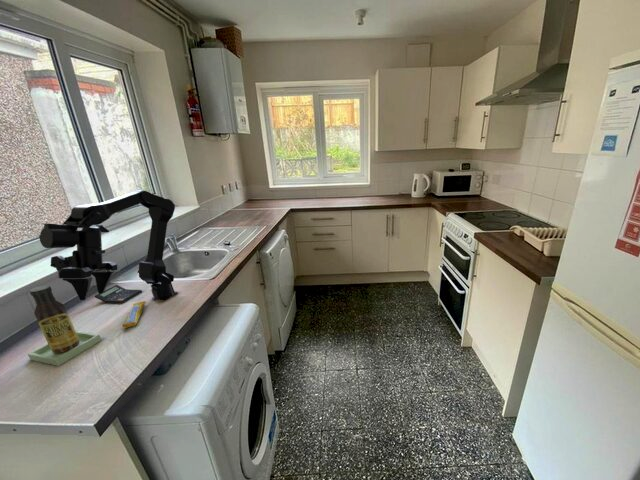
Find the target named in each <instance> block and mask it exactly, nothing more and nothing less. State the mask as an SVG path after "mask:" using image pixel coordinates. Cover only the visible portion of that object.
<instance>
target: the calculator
mask: <svg viewBox="0 0 640 480" xmlns="http://www.w3.org/2000/svg"><path fill="white" fill-rule="evenodd" d="M141 293H143V291H142V289H127V288H124V287H122V286H121V285H118V284H115V285H113V286H110V287H109V288H107V289H105V290H104V292H103V293H102V294H99V293H98V294H95V295H94V298H96V299H97V300H100V301H102V302H104V303H106V304H124V303H126V302H127V301H129V300H131V299H132V298H134V297H136V296H137V295H139V294H141Z"/></svg>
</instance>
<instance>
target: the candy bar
mask: <svg viewBox="0 0 640 480" xmlns="http://www.w3.org/2000/svg"><path fill="white" fill-rule="evenodd" d="M146 303H147V301H146V300H143V301H139V302H135V303H132V307H131V310H130V312H129V313H128V316H127V317H126V320H125V322H124V323H122V324H121V325H122V326H121V327H122V328H125V329H128V328H131V327H134V326H135V327H136V325H137V324H138V321H139V319H140V317H141V316H142V313H143V309H144V307H145V304H146Z"/></svg>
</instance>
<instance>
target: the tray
mask: <svg viewBox="0 0 640 480" xmlns="http://www.w3.org/2000/svg"><path fill="white" fill-rule="evenodd" d="M75 331H76V333H77V336H78V338H79V344H78V346H77V347H75V348H73V349H71V350H70V351H67V352H64V353H57V354H56V353H53V352H52V349H51V348H50V347H49V345H48V343H46V344H44V345H42V346H40V347H38V348H36V349H34V350H33V351H31V352H29V353H27V356H28V358H29V359H30V360H31V361H35V362H39V363H43V364H47V365H53V366H58V367H60V366H61V365H62V364H64V363H66V362H68V361H70V360H71V359H72V358H74V357H76V356H78V355H79V354H81V353H82V352H84V351H86V350H88V349H90V348H91V347H93V346H94V345H96V344H97V343H99V342H100V341H102V337H101V335H100V334H97V333H93V332H86V331H80V330H75Z"/></svg>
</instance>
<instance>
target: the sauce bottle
mask: <svg viewBox="0 0 640 480" xmlns="http://www.w3.org/2000/svg"><path fill="white" fill-rule="evenodd" d="M29 293H30V295H31V296H32V298H33V299H34V301H35V305H36V306H35V309H34V316H35V318H36V321H37V323H38V325H39V328H40V330H41V332H42V334H43V336H44V339H45V340H46V344H48V345H49V347H50V348H51V349H52V352H53V353H56V354H57V353H64V352H67V351H70V350H71V349H73V348H75V347H77V346H78V344H79V338H78V336H77V333H76V331H77V330H76V328H75V326H74V325H73V322H72V320H71V318H70V315H69V313H68V311H67V309H66V307H65V305H64V304H63V303H62V302H60V301H58V300H57V299H56V298H55V296H54V294H53V289H52V287H51V286H50V285H49V284H48V285H47V284H45V285H39V286H36V287H33V288H31V289H29Z"/></svg>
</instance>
